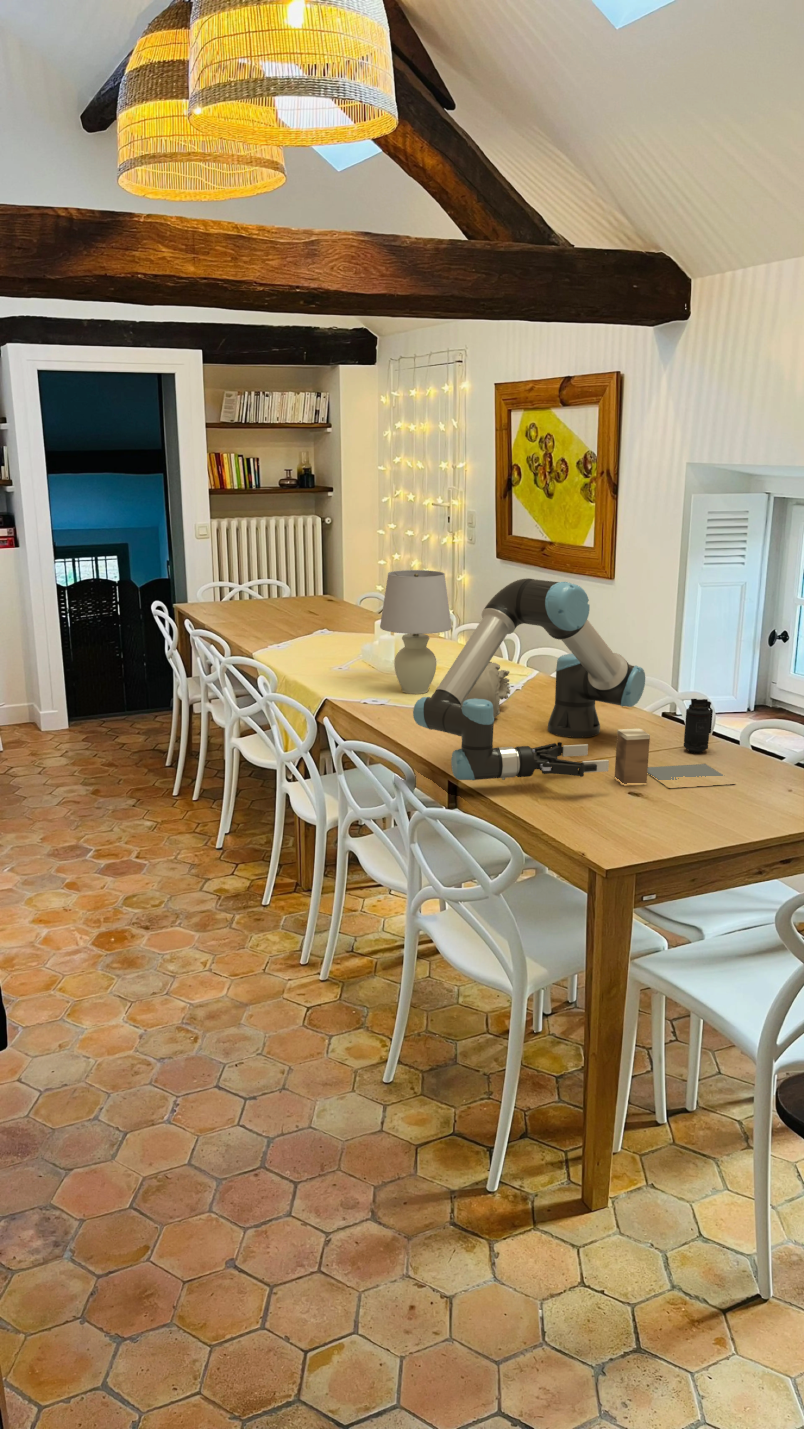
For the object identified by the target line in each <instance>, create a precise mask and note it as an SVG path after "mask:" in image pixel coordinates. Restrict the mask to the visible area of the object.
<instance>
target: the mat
mask: <svg viewBox="0 0 804 1429" xmlns="http://www.w3.org/2000/svg"><path fill="white" fill-rule="evenodd" d="M647 773H648V774H650V775H652V776H654V777H655V778H657V779H658V780H671V779H672V780H674V777H675V780H677V779H676V777H683V776H685V777H696V776H697V777H699V776H701V777H702V776H705V777H706V776H723V775H724V774H723V773H721V772H719V771H718V770H716V769H715V768H712V767H711V766H710V765H708V764H706V763H701V764H699V763H698V764H695V763H694V764H683V765H681V764H680V765H665V766H663V765H662V766H648V771H647ZM648 774H647V775H648ZM671 777H672V778H671ZM678 779H679V778H678Z"/></svg>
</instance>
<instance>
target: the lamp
mask: <svg viewBox="0 0 804 1429" xmlns="http://www.w3.org/2000/svg"><path fill="white" fill-rule="evenodd" d="M379 627H380V630H382V631H386V632H390V633H395V634H403V635H402V637H401V639H402V642H403V644H404V647H402V648H401V649H400V650H399V651H397V653H396V654H395V657H394V662H393V664H394V670H395V675H396V678H397V682H398V683H399V686H400V687H401V691H402V693H405V694H409V695H421V694H422V695H423V694H426V693H427V692H429V688H430V686H431V685H432V682H433V681H434V680H433V679H434V677H435V675H436V670H437V658H436V655H435V653H434V652H433V651H432V650H431V649H430V648H429V647H428V642H429V640H430V636H429V635H430V634H439V633H445V632H448V631H450V630H452V628H453V627H452V621H451V614H450V606H449V598H448V589H447V583H446V573H445V572H441V571H437V570H427V569H426V570H425V569H405V570H404V569H403V570H401V569H400V570H393V571H390V572H387V579H386V587H385V592H384V598H383V605H382V613H381V619H380V625H379ZM428 634H429V635H428Z"/></svg>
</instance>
